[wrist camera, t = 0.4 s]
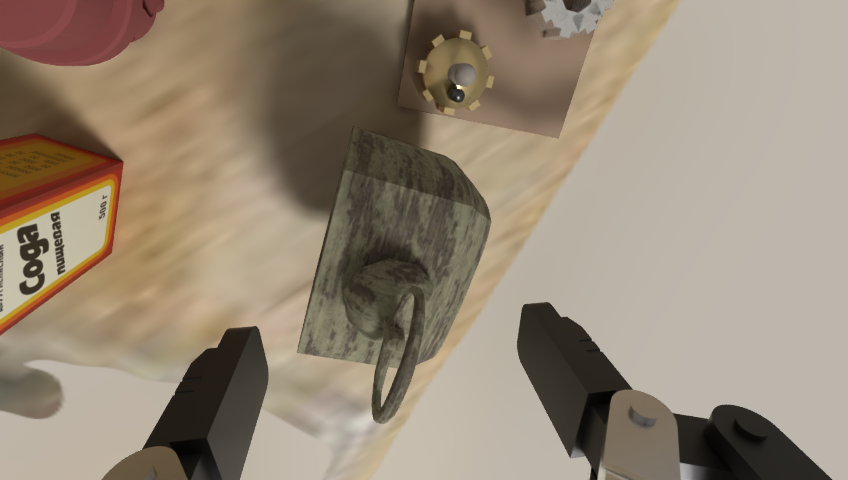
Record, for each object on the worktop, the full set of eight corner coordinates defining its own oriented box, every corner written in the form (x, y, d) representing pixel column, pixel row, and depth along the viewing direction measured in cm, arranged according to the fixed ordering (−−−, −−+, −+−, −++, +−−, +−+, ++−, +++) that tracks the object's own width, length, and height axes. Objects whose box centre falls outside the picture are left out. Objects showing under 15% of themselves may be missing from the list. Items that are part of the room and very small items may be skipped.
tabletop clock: (356, 112, 34) (341, 200, 11) (448, 142, 36) (585, 265, 14) (320, 250, 39) (261, 500, 16) (403, 269, 41) (449, 510, 19)
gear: (421, 25, 31) (431, 18, 26) (491, 42, 32) (512, 38, 28) (408, 103, 33) (415, 109, 29) (474, 117, 34) (490, 124, 30)
